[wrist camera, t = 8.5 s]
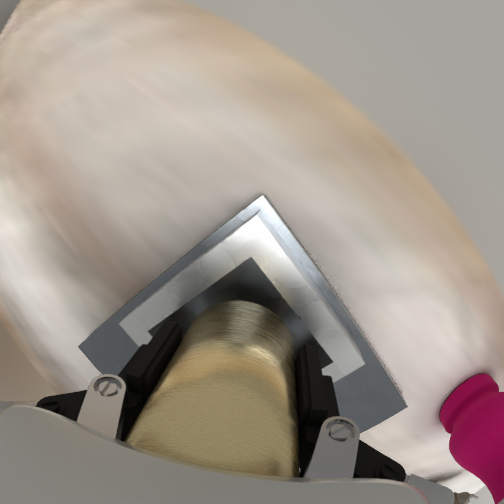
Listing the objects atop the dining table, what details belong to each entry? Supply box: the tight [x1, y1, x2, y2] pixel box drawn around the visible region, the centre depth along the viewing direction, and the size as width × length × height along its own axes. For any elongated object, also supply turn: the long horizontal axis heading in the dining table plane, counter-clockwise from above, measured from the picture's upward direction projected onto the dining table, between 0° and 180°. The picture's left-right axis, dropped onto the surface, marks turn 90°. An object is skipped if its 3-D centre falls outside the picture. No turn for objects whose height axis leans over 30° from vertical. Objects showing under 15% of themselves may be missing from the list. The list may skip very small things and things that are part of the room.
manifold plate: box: [78, 194, 408, 433], centre depth 16 cm, size 17×18×4 cm
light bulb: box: [124, 301, 299, 478], centre depth 9 cm, size 5×5×8 cm
